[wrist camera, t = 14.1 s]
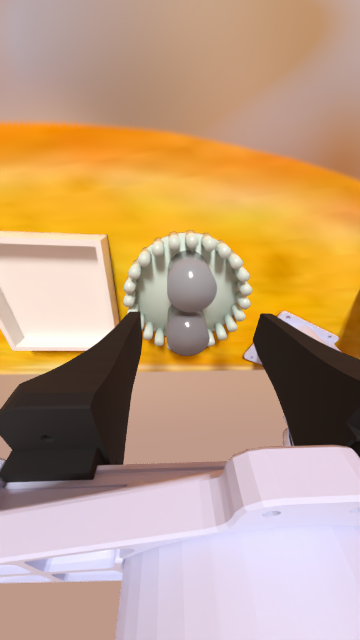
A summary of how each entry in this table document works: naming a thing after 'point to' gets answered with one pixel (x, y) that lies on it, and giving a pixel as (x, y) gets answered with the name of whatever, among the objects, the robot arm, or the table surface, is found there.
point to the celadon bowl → (151, 284)
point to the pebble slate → (190, 282)
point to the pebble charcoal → (186, 331)
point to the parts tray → (56, 290)
